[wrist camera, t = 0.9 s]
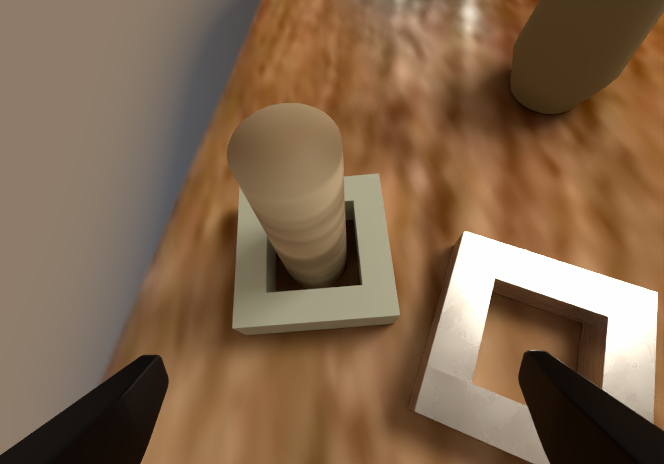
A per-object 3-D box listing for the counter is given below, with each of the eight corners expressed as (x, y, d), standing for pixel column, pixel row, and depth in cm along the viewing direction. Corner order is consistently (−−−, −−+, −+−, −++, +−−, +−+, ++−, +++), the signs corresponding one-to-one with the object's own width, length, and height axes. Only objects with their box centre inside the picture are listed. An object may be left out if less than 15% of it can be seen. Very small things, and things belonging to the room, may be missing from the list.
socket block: (613, 499, 18) (650, 514, 16) (407, 408, 21) (414, 411, 19) (626, 302, 23) (657, 292, 20) (454, 244, 25) (464, 230, 23)
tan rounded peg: (349, 287, 24) (347, 191, 12) (286, 292, 24) (223, 202, 12) (344, 229, 26) (337, 98, 14) (285, 234, 26) (230, 108, 14)
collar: (394, 323, 23) (399, 315, 20) (246, 335, 23) (232, 328, 20) (376, 195, 27) (378, 173, 24) (251, 205, 27) (239, 185, 25)
